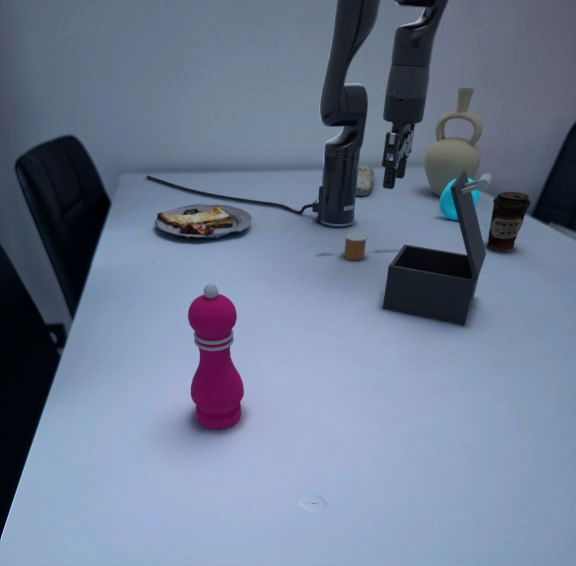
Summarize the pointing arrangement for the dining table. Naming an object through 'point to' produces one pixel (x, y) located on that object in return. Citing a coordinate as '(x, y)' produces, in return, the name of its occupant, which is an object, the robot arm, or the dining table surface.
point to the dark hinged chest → (430, 284)
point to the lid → (470, 217)
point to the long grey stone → (364, 179)
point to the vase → (453, 147)
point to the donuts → (448, 203)
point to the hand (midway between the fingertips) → (393, 182)
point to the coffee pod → (355, 246)
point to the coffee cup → (507, 220)
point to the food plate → (203, 220)
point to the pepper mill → (215, 361)
